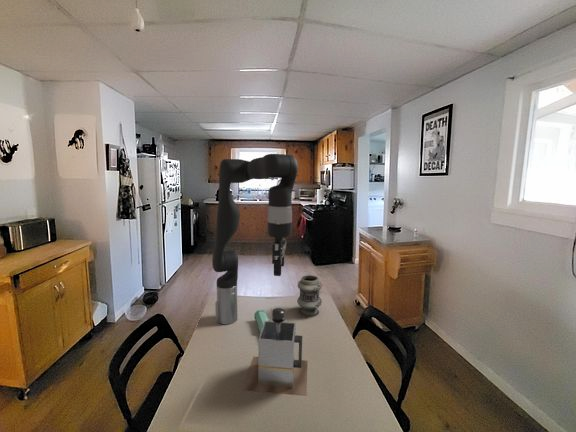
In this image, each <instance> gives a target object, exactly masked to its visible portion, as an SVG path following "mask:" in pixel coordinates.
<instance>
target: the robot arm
mask: <svg viewBox="0 0 576 432" xmlns="http://www.w3.org/2000/svg"><path fill="white" fill-rule="evenodd" d="M298 170H299V163H298V160H297V158H296V157H295V156H294V155H292V154H284V153H282V154H281V153H267V154H265V155H264V156H262V157H257V158H253V159H251V160H250V161H249V160H245V159H240V158H224V159H222V160H221V161H220V164H219V170H218V204H217V205H218V206H217V213H216V229H215V240H214V246H213V252H212V259H211V260H212V261H211V262H212V268H213V271H215V272H216V273H222V272H223V273H224V272H225V273H224V274H222V275H220V276H219V277H218V278H217V279H216V302H215V303H214V304H215V305H214V306H215V322H216V323H219V324H220V325H231V324H234V323H235V322H237V321H238V314H239V313H238V278H239V277H238V276H239V275H238V273H239V256H238V253H237V251H236V250H235V249H228V250H225V249H226V246H227V245H228V243H229V242H230V240H231V239H233V237H234V235H235V234H236V233H237V231H238V229H239V226H240V215H241V213H240V209H239V208H238V207H239V206H238V205H237V204H236V202H235V200H234V199H233V197H232V196H233V195H232V194H231V184H243V183H245V182H249V181H251V180H254V179H256V180H263V179H264V180H266V179H280V182H279V184H277V185H273V186H271V187H270V188H269V190H268V209H267V236H269V237H271V238H274V240H273V241H272V245H271V247H272V248H271V249H272V253H271V254H272V255H271V256H272V258H271V259H272V261H271V264H273V276H275V277H281V276H282V267H284V265H285V255H286V250H287V240H286V238H289V237H292V235H293V233H292V232H293V231H292V230H293V209H292V199H293V198H292V193H293V190H294V187H295V183H296V178H297V175H298Z"/></svg>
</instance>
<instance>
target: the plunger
mask: <svg viewBox="0 0 576 432" xmlns="http://www.w3.org/2000/svg"><path fill="white" fill-rule="evenodd" d="M271 311H272V312H271V313H272V314H271V316H272V318H271V321H273V322H276V340H280V323H281V322H285V316H286V315H285V313H286V312H285V311H286V310H285V309H284V308H282V307H275V308H273V309H272V310H271Z"/></svg>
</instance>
